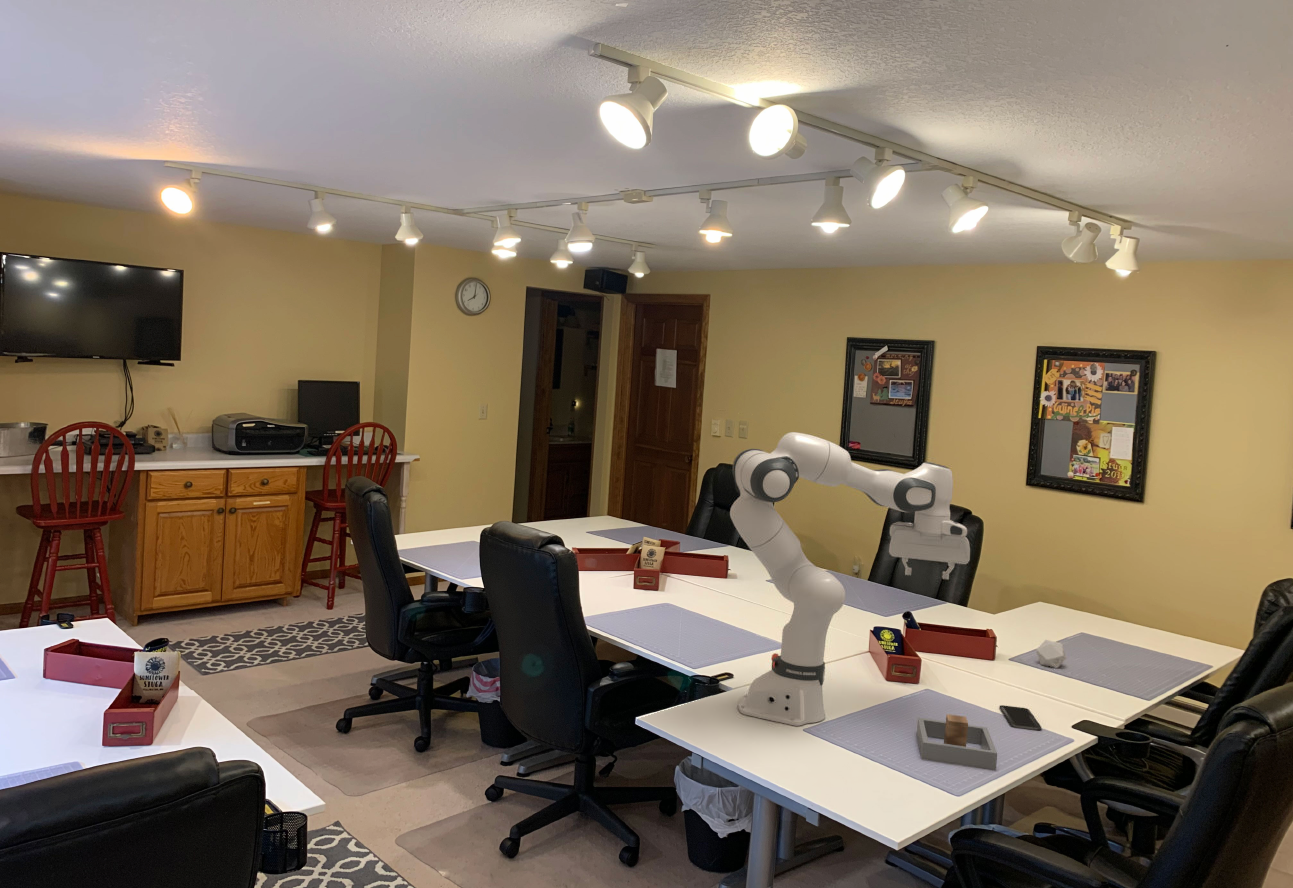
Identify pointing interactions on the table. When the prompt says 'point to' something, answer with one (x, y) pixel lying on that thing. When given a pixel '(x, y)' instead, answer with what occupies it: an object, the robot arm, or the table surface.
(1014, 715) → the phone
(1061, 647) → the die
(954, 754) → the box
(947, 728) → the walnut block
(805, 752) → the table surface
